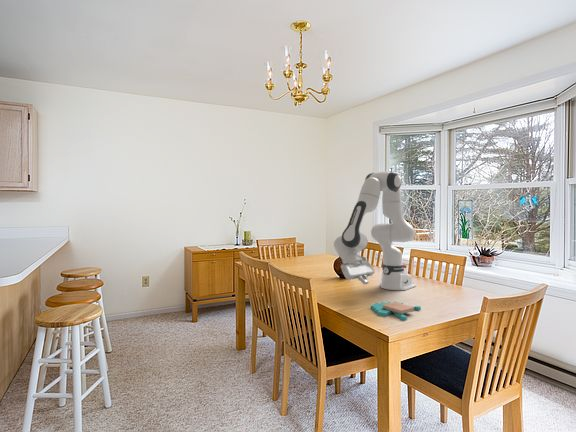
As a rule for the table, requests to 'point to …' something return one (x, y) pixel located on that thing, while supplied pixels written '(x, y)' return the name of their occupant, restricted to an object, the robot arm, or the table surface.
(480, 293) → the table surface
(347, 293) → the table surface
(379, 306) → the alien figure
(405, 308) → the tile
